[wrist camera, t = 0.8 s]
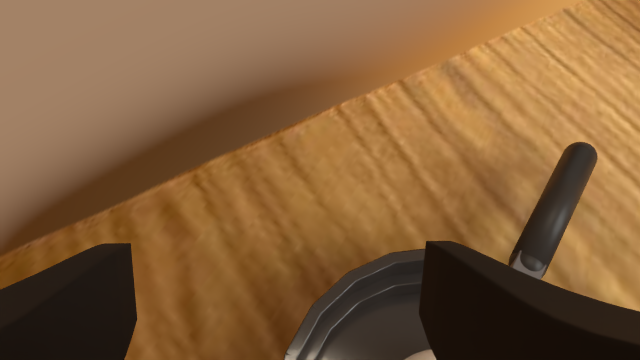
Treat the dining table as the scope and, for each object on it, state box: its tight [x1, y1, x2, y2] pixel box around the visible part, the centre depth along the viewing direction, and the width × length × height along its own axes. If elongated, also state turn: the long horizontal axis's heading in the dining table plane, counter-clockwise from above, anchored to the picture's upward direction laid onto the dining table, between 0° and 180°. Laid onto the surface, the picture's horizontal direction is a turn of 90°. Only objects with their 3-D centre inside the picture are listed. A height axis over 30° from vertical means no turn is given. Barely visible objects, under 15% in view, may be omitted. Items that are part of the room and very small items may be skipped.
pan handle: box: [509, 142, 597, 279], centre depth 26 cm, size 11×2×2 cm, turn 145°
